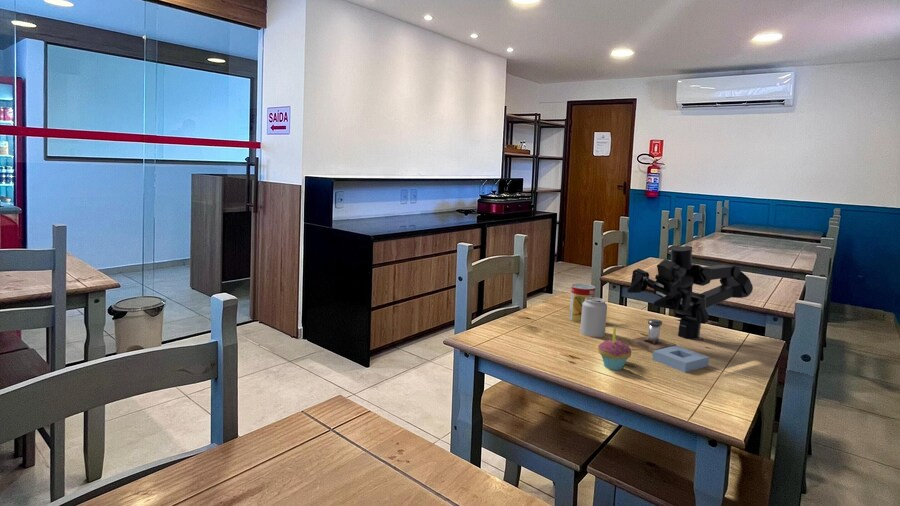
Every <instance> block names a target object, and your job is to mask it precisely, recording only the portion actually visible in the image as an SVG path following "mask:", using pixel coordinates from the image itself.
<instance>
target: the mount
mask: <svg viewBox="0 0 900 506" xmlns="http://www.w3.org/2000/svg"><path fill="white" fill-rule="evenodd" d="M647 342H648V335H645V336H641V337H640V336H639V337H636V338H632V339H631V338H630V339H629V346H630V345H631V346H633V347H635V348H638V349H641V350H643V351H646V352H649V353H650V354H651V353H652V354H653V351H654V350H659V349H663V348H668V347H672V346H676V345H677V344H676V343H674V342H671V341H668V340H665V339H662V338H659V343H658V344H657V345H653V344H650V343H647Z"/></svg>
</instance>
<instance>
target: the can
mask: <svg viewBox="0 0 900 506" xmlns="http://www.w3.org/2000/svg"><path fill="white" fill-rule="evenodd" d="M606 302H607V301H606V300H605V299H603V298H600V297H595V296H594V297H589V298H585V301H584V302H583V303H582V314H581V323H580V327H579V328H580V331H579V333H580V334H581V335H583V336H586V337H591V338H602V337H605V334H606V325H607V323H606V322H607V313H608V304H607V303H606Z"/></svg>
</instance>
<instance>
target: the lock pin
mask: <svg viewBox="0 0 900 506" xmlns="http://www.w3.org/2000/svg"><path fill="white" fill-rule="evenodd" d="M647 321H648V322H647V324H648V333H647V334H648V335H647V336H648V342H647V343H650V344H653V345H657V344H658V343H659V339H660V334H661V333H660V332H661V326H662V325H663V321H662V320H660V319H654V318H650V319H648V320H647Z"/></svg>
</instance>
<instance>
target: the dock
mask: <svg viewBox="0 0 900 506" xmlns="http://www.w3.org/2000/svg"><path fill="white" fill-rule="evenodd" d="M652 361H655V362H657V363H659V364H662V365H665V366H667V367H670V368H672V369H675V370H677V371H680V372H682V373H688V372H692V371H696V370H699V369H702V368H706V367H709V363H710V356H708V355H704V354H702V353H699V352H697V351H694V350H690V349H689V348H688V349H687V348H686V347H685V348H684V347H681V346H679V345H677V344H676V346H672V347H668V348H663V349H659V350H654V351H653V353H652Z"/></svg>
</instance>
